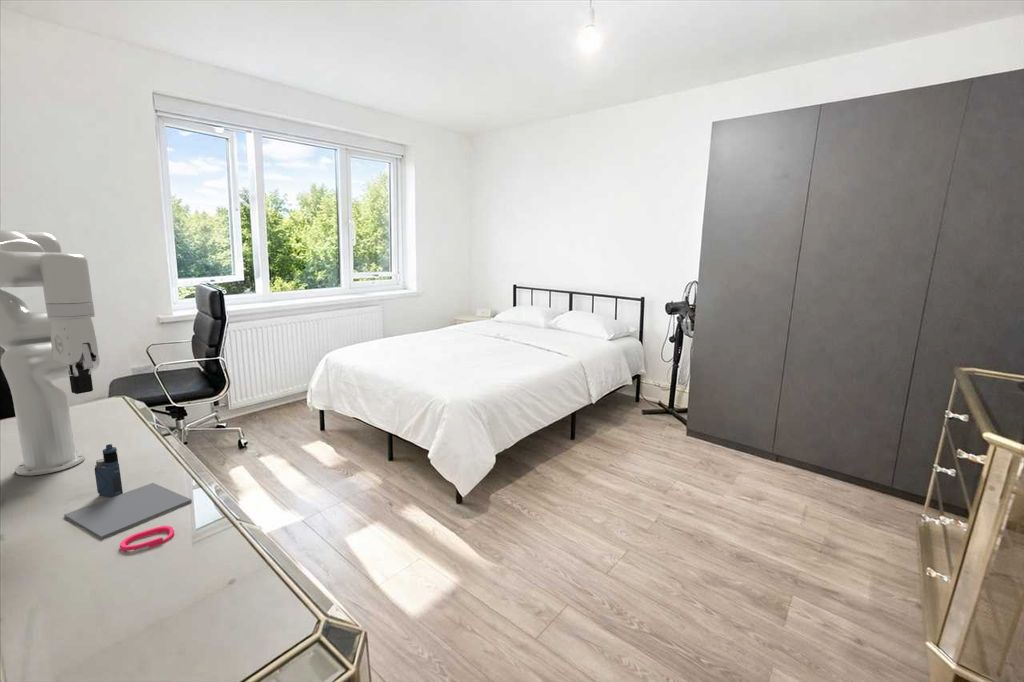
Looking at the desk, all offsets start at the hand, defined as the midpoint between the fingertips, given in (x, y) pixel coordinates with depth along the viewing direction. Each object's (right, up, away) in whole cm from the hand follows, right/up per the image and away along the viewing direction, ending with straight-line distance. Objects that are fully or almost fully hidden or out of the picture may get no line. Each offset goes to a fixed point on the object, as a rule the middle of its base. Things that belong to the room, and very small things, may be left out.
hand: (82, 391), depth 104 cm
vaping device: (+6, -24, +1) cm, 24 cm away
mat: (+15, -25, -5) cm, 29 cm away
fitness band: (+27, -27, -16) cm, 42 cm away
